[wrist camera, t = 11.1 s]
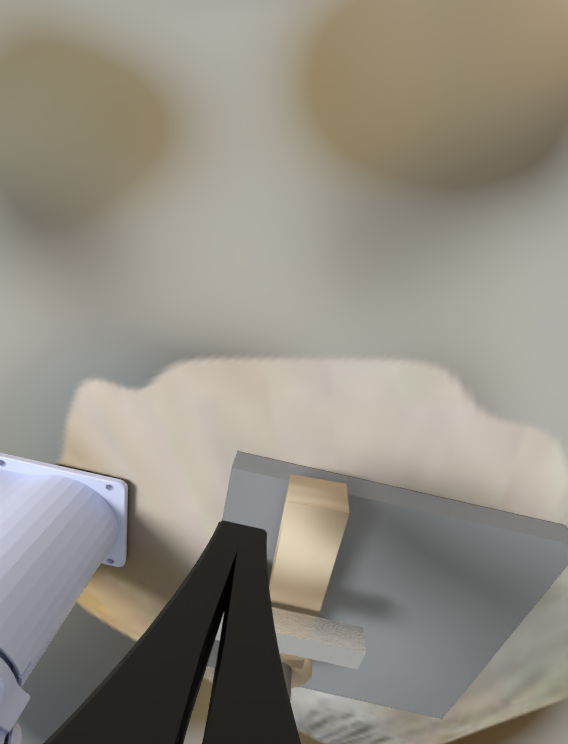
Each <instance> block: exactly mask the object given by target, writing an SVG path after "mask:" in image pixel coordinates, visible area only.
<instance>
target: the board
mask: <svg viewBox="0 0 568 744" xmlns="http://www.w3.org/2000/svg"><path fill="white" fill-rule="evenodd" d="M290 474H293V475H299V476H304V477H310V478H316V479H321V480H327V481H333V482H338V483H344V484H346V486H347V495H348V504H349V512H350V514H349V517H348V520H347V524H346V527H345V530H344V533H343V537H342V540H341V543H340V547H339V550H338V553H337V556H336V560H335V563H334V566H333V570H332V573H331V576H330V580H329V583H328V586H327V589H326V593H325V596H324V599H323V603H322V606H321V609H320V612H319V616H318V617H319V618H323V619H328V620H332V621H337V622H341V623H346V624H350V625H354V626H359V627H363V629H364V637H365V646H366V654H365V656H364V658H363V660H362V662H361V664H360V665H359V667H358V669H353V668H349V667H344V666H340V665H335V664H331V663H326V662H322V661H318V660H313V659H312V676H311V678H310V680H309V681H308V682H306V683H305V684H303V685H301V686H298V687H302V688H307V689H311V690H316V691H320V692H324V693H329V694H333V695H338V696H342V697H347V698H351V699H355V700H360V701H364V702H369V703H373V704H378V705H382V706H386V707H391V708H395V709H400V710H404V711H409V712H413V713H417V714H422V715H426V716H431V717H435V718H440V719H442V718H443V717H444V716H445V715H446V713H447V712H448V711H449V710H450V709H451V707H452V706H453V705H454V704H455V702H456V701H457V700H458V699H459V698H460V696H461V695H462V694H463V693H464V691H465V690H466V689H467V688H468V686H469V685H470V684H471V683H472V682H473V680H474V679H475V678H476V677H477V675H478V674H479V673H480V672H481V671H482V669H483V668H484V667H485V666H486V664H487V663H488V662H489V661H490V660H491V658H492V657H493V656H494V655H495V653H496V652H497V651H498V650H499V649H500V647H501V646H502V645H503V644H504V642H505V641H506V640H507V639H508V637H509V636H510V635H511V634H512V633H513V631H514V630H515V629H516V628H517V626H518V625H519V624H520V623H521V622H522V620H523V619H524V618H525V617H526V615H527V614H528V613H529V612H530V611H531V609H532V608H533V607H534V606H535V604H536V603H537V602H538V601H539V599H540V598H541V597H542V596H543V595H544V593H545V592H546V591H547V590H548V588H549V587H550V586H551V585H552V584H553V582H554V581H555V580H556V579H557V577H558V576H559V575H560V574H561V573H562V571H563V570H564V569H565V568H566V566H567V565H568V529H567V528H566V527H565V525H562V524H557V523H553V522H548V521H544V520H539V519H535V518H531V517H526V516H522V515H517V514H513V513H508V512H504V511H500V510H495V509H491V508H486V507H482V506H477V505H473V504H469V503H464V502H460V501H455V500H451V499H446V498H442V497H438V496H433V495H429V494H424V493H420V492H415V491H411V490H407V489H402V488H398V487H393V486H389V485H385V484H380V483H376V482H371V481H367V480H362V479H358V478H354V477H349V476H345V475H340V474H336V473H331V472H327V471H323V470H318V469H314V468H309V467H305V466H300V465H296V464H292V463H287V462H283V461H278V460H274V459H269V458H265V457H261V456H256V455H252V454H247V453H243V452H238V451H237V454H236V457H235V460H234V463H233V465H232V469H231V474H230V480H229V486H228V491H227V497H226V502H225V508H224V513H223V519H222V521H223V520H224V521H229V522H233V523H238V524H242V525H247V526H251V527H255V528H260V529H264V530H265V531H266V532H267V569H268V581H270V576H271V571H272V566H273V561H274V555H275V550H276V545H277V540H278V535H279V530H280V525H281V520H282V514H283V509H284V504H285V499H286V494H287V489H288V484H289V479H290ZM218 648H219V640H215V642H214V645H213V648H212V651H211V654H210V657H209V661H208V664H207V666H209V667H214V668H215V666H216V660H217V654H218Z"/></svg>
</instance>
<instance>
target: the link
mask: <svg viewBox="0 0 568 744" xmlns="http://www.w3.org/2000/svg"><path fill="white" fill-rule="evenodd" d="M349 514H350V512H349V504H348V495H347V486H346V484H344V483H338V482H333V481H327V480H321V479H316V478H310V477H304V476H299V475H293V474H290V479H289V484H288V489H287V494H286V499H285V504H284V509H283V514H282V520H281V525H280V530H279V535H278V540H277V545H276V550H275V555H274V561H273V566H272V571H271V576H270V581H269V590H270V598H271V605H272V607H275V608H279V609H284V610H288V611H292V612H297V613H301V614H306V615H310V616H315V617H318V616H319V612H320V609H321V606H322V603H323V599H324V596H325V593H326V589H327V586H328V583H329V580H330V576H331V573H332V570H333V566H334V563H335V560H336V556H337V553H338V550H339V547H340V543H341V540H342V537H343V533H344V530H345V527H346V524H347V520H348V517H349ZM279 653H280V659H281V663H282V668H283V673H284V678H285V682H286V687H287V691H288V695H289V699H290V696H291V688H294V687H298V686H301V685H303V684H305V683H306V682H308V681H309V680H310V678H311V676H312V659H309V658H304V657H300V656H295V655H291V654H287V653H282V652H279Z"/></svg>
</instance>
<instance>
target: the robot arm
mask: <svg viewBox="0 0 568 744" xmlns="http://www.w3.org/2000/svg"><path fill="white" fill-rule="evenodd" d="M111 485H112V486H111ZM127 507H128V485H127V484H126V482H125V481H123V480H120V479H116V478H111V477H107V476H103V475H98V474H94V473H89V472H85V471H81V470H76V469H72V468H67V467H63V466H58V465H54V464H49V463H45V462H41V461H36V460H32V459H27V458H23V457H19V456H13V455H9V454H5V453H1V452H0V744H21V735H22V733H21V729H20V726H19V725H18V724H17V723H16V721H17V719H18V717H19V716H20V714H21V712H22V711H23V709H24V708H25V706H26V704H27V703H28V701H29V699H30V695H28V694H27V693H26V692H24V691H23V690H22V689H21V687H22V685H23V684H24V682H25V681H26V679H27V678H28V676H29V675H30V673H31V671H32V670H33V668H34V667H35V665H36V664H37V662H38V661H39V659H40V657H41V656H42V654H43V653H44V651H45V650H46V648H47V646H48V645H49V643H50V642H51V640H52V639H53V637H54V636H55V634H56V632H57V631H58V629H59V628H60V626H61V625H62V623H63V622H64V620H65V618H66V617H67V615H68V614H69V612H70V610H71V609H72V607H73V606H74V604H75V603H76V601H77V600H78V598H79V597H80V595H81V594H82V592H83V590H84V589H85V587H86V586H87V584H88V583H89V581H90V580H91V578H92V576H93V575H94V573H95V572H96V570H97V569H98V567H99V566H100V564H101V563H102V564H106V565H111V566H115V567H122V566H123V565H124V564H125V562H126V555H127ZM223 614H224V616H223ZM222 617H223V622H222V629H221V635H220V641H219V648H218V654H217V660H216V666H215V673H214V679H213V685H212V692H211V698H210V704H209V710H208V716H207V722H206V727H205V732H204V738H203V742H202V744H301V742H300V739H299V735H298V731H297V727H296V723H295V719H294V716H293V712H292V708H291V703H290V699H289V695H288V691H287V687H286V682H285V678H284V673H283V668H282V663H281V659H280V653H279V648H278V643H277V637H276V632H275V626H274V620H273V613H272V605H271V598H270V590H269V581H268V569H267V532H266V531H265V530H264V529H260V528H255V527H251V526H247V525H242V524H238V523H233V522H229V521H224V520H223V521H221V522H219V523H218V526H217V528H216V530H215V532H214V534H213V536H212V538H211V539H210V541H209V543H208V545H207V546H206V548H205V550H204V551H203V553H202V555H201V556H200V558H199V559H198V561H197V562H196V564H195V565H194V567H193V568H192V570H191V571H190V573H189V574H188V576H187V577H186V579H185V580H184V581H183V583H182V584H181V586H180V587H179V589H178V590H177V591H176V593H175V594H174V596H173V597H172V598H171V599H170V601H169V602H168V603H167V605H166V606H165V607H164V609H163V610H162V611H161V612H160V614H159V615H158V616H157V618H156V619H155V620H154V622H153V623H152V624H151V625H150V627H149V628H148V629H147V630H146V632H145V633H144V634H143V635H142V636H141V638H140V639H139V640H138V641H137V643H136V644H135V645H134V646H133V647H132V649H131V650H130V651H129V652H128V653H127V654H126V655H125V657H124V658H123V659H122V660H121V661H120V663H119V664H118V665H117V666H116V667H115V668H114V669H113V670H112V672H111V673H110V674H109V675H108V676H107V677H106V678H105V679H104V680H103V682H102V683H101V684H100V685H99V686H98V687H97V688H96V689H95V690H94V691H93V692H92V693H91V695H90V696H89V697H88V698H87V699H86V700H85V701H84V702H83V703H82V704H81V706H80V707H79V708H78V709H77V710H76V711H75V712H74V713H73V714H72V715H71V716H70V717H69V718H68V719H67V720H66V721H65V722H64V723H63V724H62V725H61V726H60V728H58V729H57V730H56V731H55V733H53V735H52V736H50V738H48V740H46V741H45V743H43V744H183V743H184V738H185V735H186V731H187V728H188V724H189V721H190V717H191V714H192V711H193V707H194V704H195V701H196V698H197V695H198V692H199V689H200V686H201V682H202V679H203V676H204V673H205V670H206V667H207V664H208V661H209V657H210V654H211V651H212V648H213V645H214V642H215V639H216V636H217V632H218V629H219V626H220V623H221V620H222Z"/></svg>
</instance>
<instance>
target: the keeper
mask: <svg viewBox="0 0 568 744" xmlns="http://www.w3.org/2000/svg"><path fill="white" fill-rule="evenodd" d="M272 613H273V620H274V626H275V632H276V637H277V643H278V648H279V652H282V653H287V654H291V655H295V656H300V657H304V658H309V659H313V660H318V661H322V662H326V663H331V664H335V665H340V666H344V667H349V668H353V669H358V667H359V665H360V664H361V662H362V660H363V658H364V656H365V654H366V646H365V637H364V629H363V627H359V626H354V625H350V624H346V623H341V622H337V621H332V620H328V619H323V618H319V617H315V616H310V615H306V614H301V613H297V612H292V611H288V610H284V609H279V608H275V607H272ZM223 616H224V614H223ZM222 622H223V617H222V620H221V623H220V626H219V629H218V632H217V636H216V639H215V640H219V641H220V635H221V629H222Z"/></svg>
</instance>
